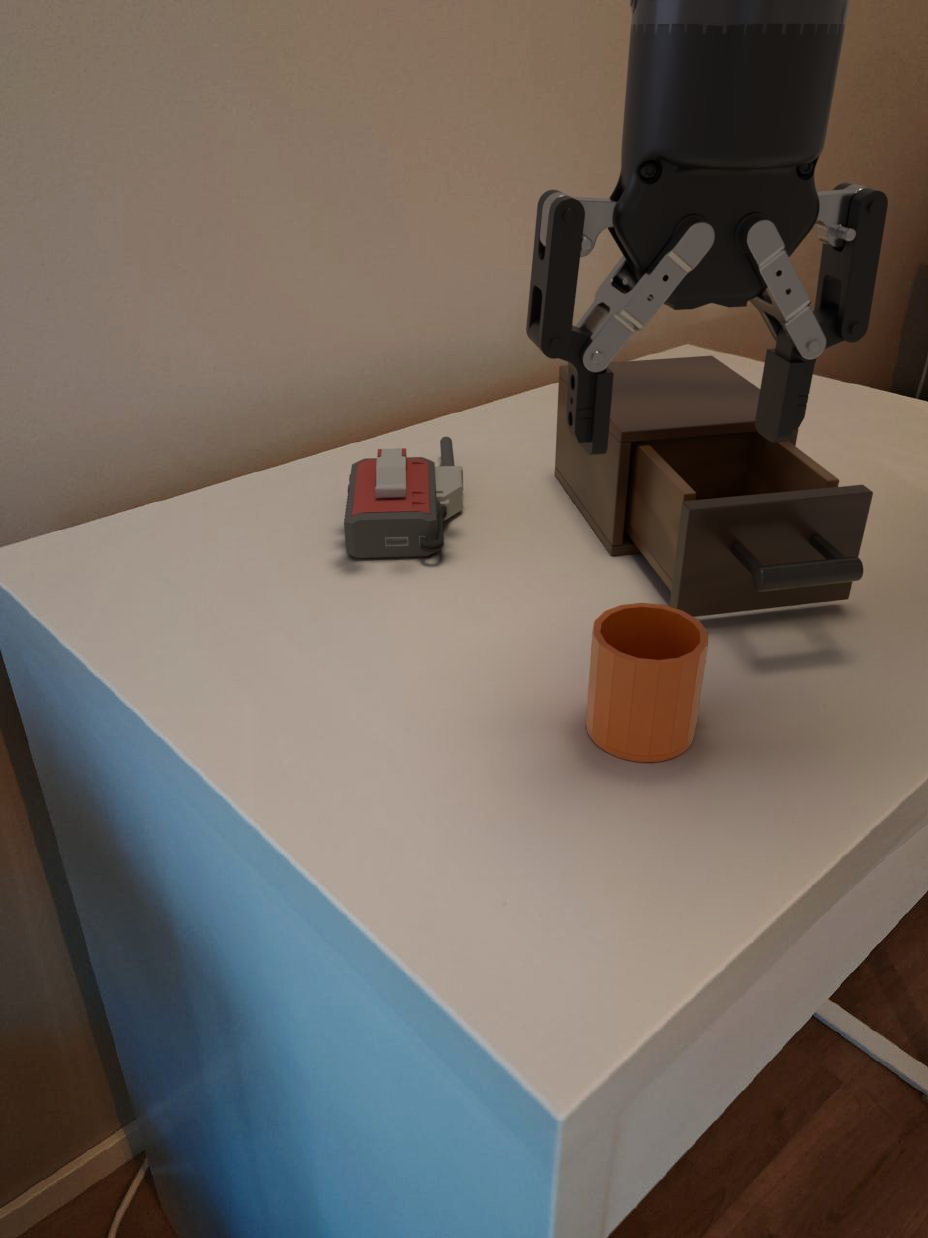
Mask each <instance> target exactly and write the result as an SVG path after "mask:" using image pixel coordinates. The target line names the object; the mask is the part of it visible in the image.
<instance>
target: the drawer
mask: <svg viewBox="0 0 928 1238" xmlns="http://www.w3.org/2000/svg"><path fill="white" fill-rule="evenodd" d="M839 484H840V479H839V478H838V477H837V476H836V475H834V474H833V473H831V472H830V471H829V470H828V469H826V468H825V467H824V466H822V465H821V464H820V463H818V462H817V461H815V460H814V459H813V458H812V457H810V456H809V455H808V454H806V453H805V452H803V451H802V450H801V449H800V448H799V447H797V445H796V446H794V445H793V444H792V443H790V442H789V441H787V442H774V443H772V442H770V441H769V440H768V439H766V438H765V437H764V436H762V435H761V434H760V433H758V432H745V433H733V434H721V435H709V436H697V437H685V438H673V439H661V440H649V441H637V442H631V453H630V465H629V476H628V488H627V499H626V510H625V522H624V530H625V532H626V533H627V534H628V536H629V537H630V538H631V540H632V541H633V542H634V544H635V545H636V546H637V548H638V549H639V550H640V551H641V553H640V554H642V556H643V557H644V559H645V560H646V561H647V562H648V564H649V565H650V566H651V567H652V569H653V571H654V572H655V573H656V574H657V575H658V577H659V578H660V579H661V581H662V582H663V583H664V585H665V586H666V587H667V588H668V590H669V591H670V599H669V600H670V601H669V607H672V608H675V609H679V610H682V611H684V612H686V613H688V614H689V615H691V616H693V617H694V618H696V617H706V616H714V615H723V614H732V613H733V614H734V613H741V612H749V611H750V612H751V611H759V610H768V609H776V608H785V607H793V606H802V605H811V604H819V603H820V604H821V603H828V602H837V601H846V600H847V601H848V600H849V598H850V595H851V592H852V591H851V590H852V586H853V582H858V581H860V580H862V578H863V575H864V564H863V561H862V560H861V558H860V557H859V556H860V552H861V547H862V543H863V539H864V534H865V530H866V526H867V522H868V517H869V514H870V509H871V504H872V499H873V495H874V491H872V490H871V489H870V488H868V487H867V486H865V484H853V485H844V486H843V485H842V486H839Z"/></svg>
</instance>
